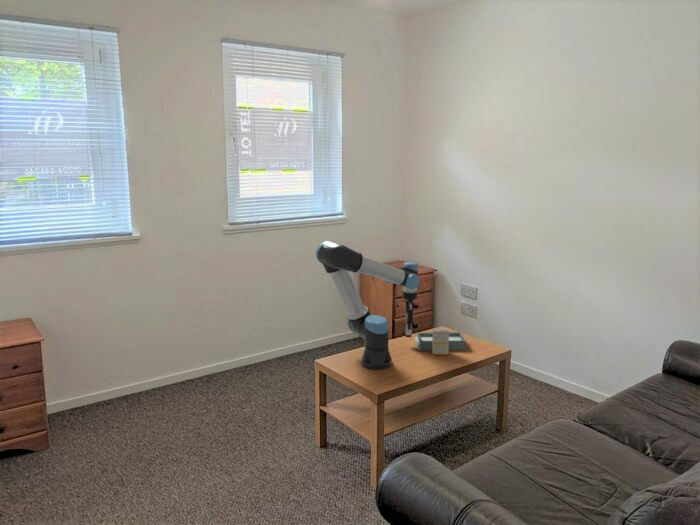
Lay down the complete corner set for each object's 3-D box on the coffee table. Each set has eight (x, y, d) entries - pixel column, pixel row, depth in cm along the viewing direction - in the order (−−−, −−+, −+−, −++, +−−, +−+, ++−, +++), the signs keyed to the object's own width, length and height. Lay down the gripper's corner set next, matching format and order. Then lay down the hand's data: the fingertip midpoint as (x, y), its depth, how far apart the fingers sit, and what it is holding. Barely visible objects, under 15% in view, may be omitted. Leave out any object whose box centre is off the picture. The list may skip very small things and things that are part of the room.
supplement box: (447, 352, 289) (448, 328, 287) (448, 355, 285) (449, 331, 282) (431, 351, 290) (432, 327, 288) (432, 354, 285) (432, 330, 283)
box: (417, 350, 292) (418, 341, 291) (414, 341, 306) (414, 332, 305) (465, 349, 292) (465, 340, 291) (460, 340, 306) (460, 332, 305)
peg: (405, 337, 296) (406, 315, 293) (404, 335, 299) (405, 314, 297) (411, 337, 296) (412, 315, 293) (411, 335, 299) (411, 314, 297)
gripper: (419, 295, 285) (417, 338, 289) (415, 287, 301) (413, 329, 305) (404, 295, 285) (402, 338, 289) (401, 287, 301) (400, 328, 305)
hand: (408, 333), depth 297 cm, fingers closed on peg, 3 cm apart
